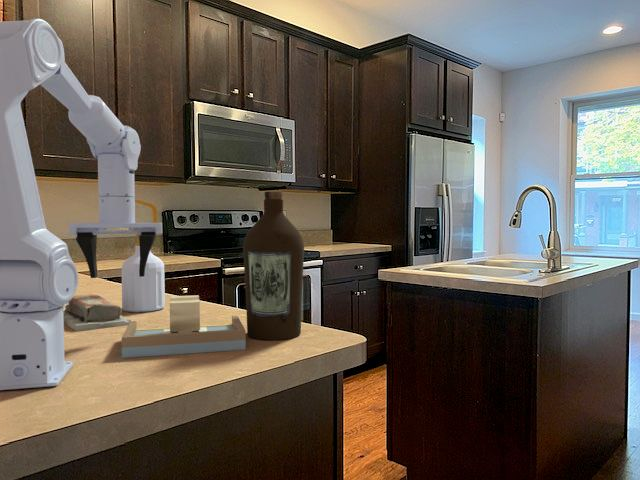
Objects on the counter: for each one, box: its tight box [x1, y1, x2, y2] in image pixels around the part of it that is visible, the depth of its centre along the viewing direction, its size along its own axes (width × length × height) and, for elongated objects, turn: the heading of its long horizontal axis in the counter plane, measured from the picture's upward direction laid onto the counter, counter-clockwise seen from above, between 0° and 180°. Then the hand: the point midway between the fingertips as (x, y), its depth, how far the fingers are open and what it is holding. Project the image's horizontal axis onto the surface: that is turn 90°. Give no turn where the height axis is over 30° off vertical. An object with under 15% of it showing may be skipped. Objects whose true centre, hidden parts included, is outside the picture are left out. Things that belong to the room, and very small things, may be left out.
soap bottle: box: [121, 199, 166, 313], centre depth 112 cm, size 9×9×25 cm
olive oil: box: [242, 191, 305, 341], centre depth 87 cm, size 11×11×25 cm
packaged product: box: [63, 293, 132, 332], centre depth 100 cm, size 18×5×10 cm
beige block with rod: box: [169, 294, 201, 333], centre depth 81 cm, size 8×4×6 cm, turn 15°
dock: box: [121, 315, 247, 359], centre depth 81 cm, size 12×18×3 cm, turn 105°
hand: (118, 276), depth 85 cm, fingers open, 7 cm apart
